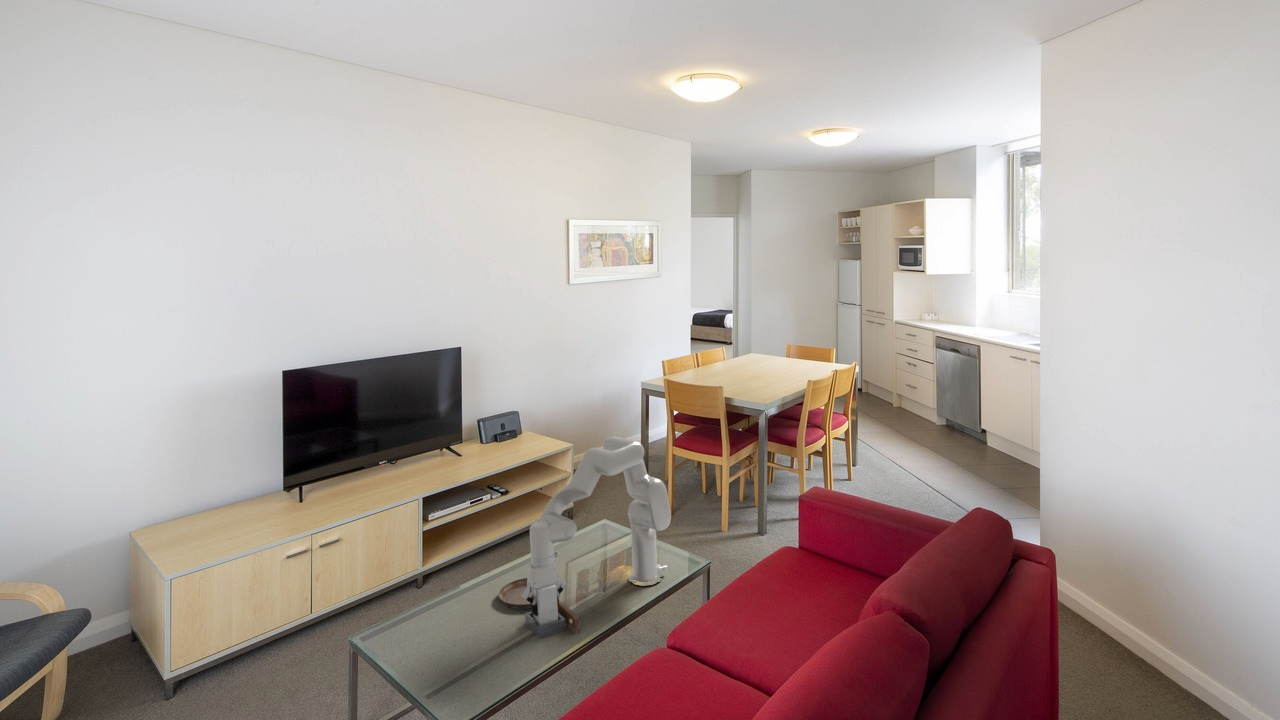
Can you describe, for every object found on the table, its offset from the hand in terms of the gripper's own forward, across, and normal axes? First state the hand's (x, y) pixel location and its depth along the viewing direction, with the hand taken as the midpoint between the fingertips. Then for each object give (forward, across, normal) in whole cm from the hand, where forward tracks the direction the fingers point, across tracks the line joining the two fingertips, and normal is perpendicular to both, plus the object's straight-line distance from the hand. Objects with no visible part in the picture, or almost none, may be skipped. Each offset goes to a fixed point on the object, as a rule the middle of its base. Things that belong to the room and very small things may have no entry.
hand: (545, 610), depth 213 cm
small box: (+4, 0, 0) cm, 4 cm away
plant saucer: (+6, -3, -22) cm, 24 cm away
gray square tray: (+5, 0, 0) cm, 5 cm away
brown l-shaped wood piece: (+6, -7, 0) cm, 9 cm away
